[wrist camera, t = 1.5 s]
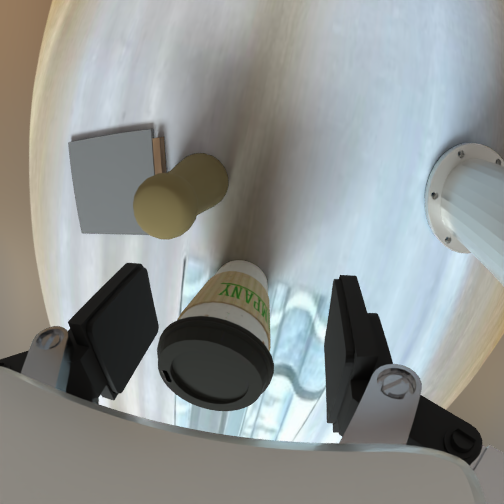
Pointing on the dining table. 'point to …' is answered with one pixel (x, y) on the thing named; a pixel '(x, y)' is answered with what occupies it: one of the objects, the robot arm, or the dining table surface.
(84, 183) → the charcoal mat
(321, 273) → the dining table surface
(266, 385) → the coffee cup
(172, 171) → the cork
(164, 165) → the walnut strip
